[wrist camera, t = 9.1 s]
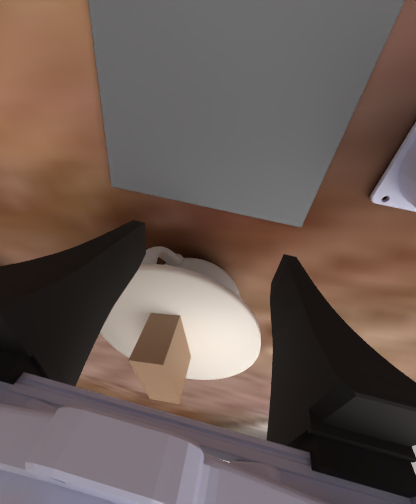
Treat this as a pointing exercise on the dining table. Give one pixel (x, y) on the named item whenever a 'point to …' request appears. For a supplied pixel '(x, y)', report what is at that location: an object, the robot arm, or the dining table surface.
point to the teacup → (190, 265)
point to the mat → (233, 95)
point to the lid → (181, 329)
